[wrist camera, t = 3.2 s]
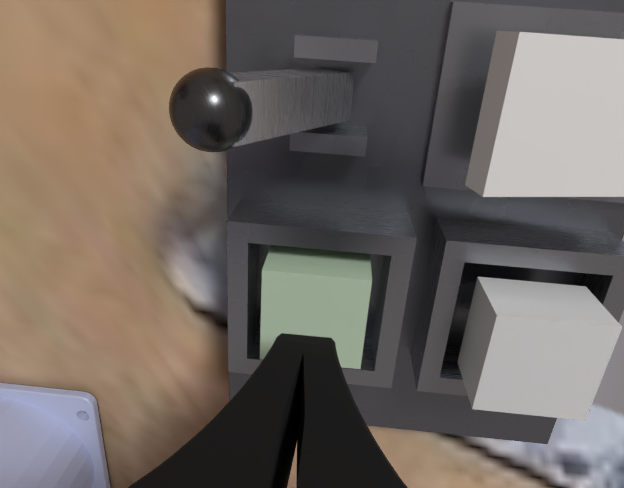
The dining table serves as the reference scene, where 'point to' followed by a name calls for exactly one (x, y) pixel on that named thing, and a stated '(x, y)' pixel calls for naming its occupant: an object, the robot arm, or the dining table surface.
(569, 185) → the rocker
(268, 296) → the button
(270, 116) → the toggle lever
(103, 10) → the dining table surface
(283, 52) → the panel
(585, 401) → the button
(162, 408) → the dining table surface
